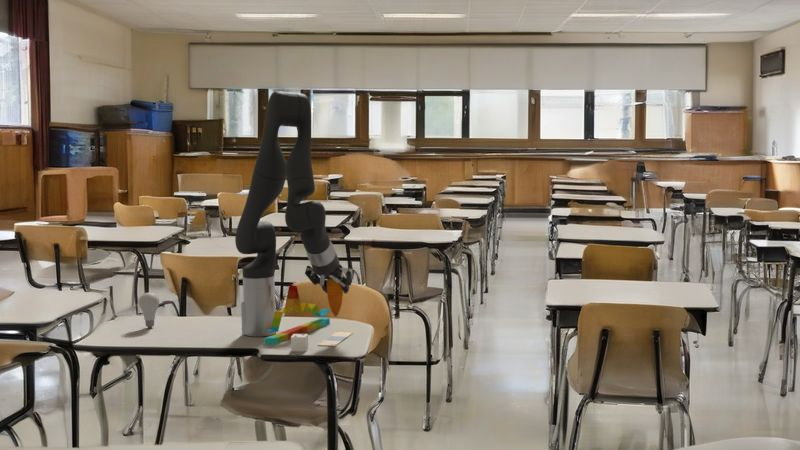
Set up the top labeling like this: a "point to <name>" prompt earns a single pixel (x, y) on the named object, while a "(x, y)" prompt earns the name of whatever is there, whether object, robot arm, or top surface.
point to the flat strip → (335, 339)
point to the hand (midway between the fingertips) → (337, 290)
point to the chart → (298, 307)
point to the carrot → (334, 296)
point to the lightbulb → (149, 307)
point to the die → (299, 342)
